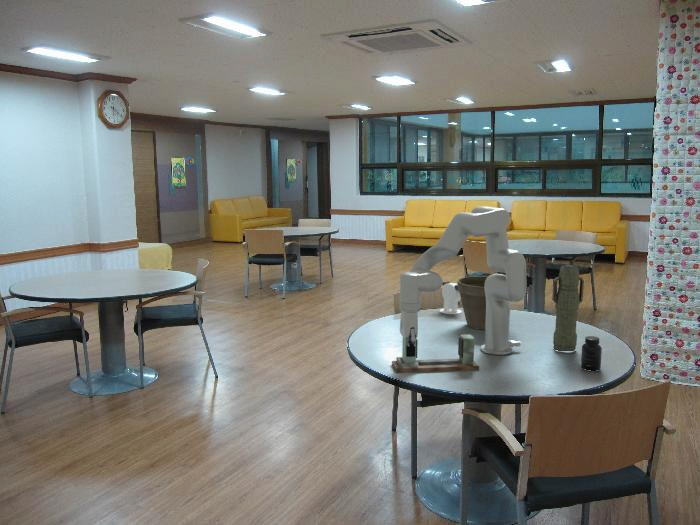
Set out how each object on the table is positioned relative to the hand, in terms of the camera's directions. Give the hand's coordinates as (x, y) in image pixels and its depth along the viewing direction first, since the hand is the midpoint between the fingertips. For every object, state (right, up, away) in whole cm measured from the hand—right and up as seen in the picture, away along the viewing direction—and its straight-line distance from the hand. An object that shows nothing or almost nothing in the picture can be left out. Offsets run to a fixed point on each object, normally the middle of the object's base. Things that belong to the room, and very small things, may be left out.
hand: (409, 353), depth 219 cm
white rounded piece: (+30, +8, +87) cm, 92 cm away
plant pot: (+41, +4, +59) cm, 72 cm away
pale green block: (0, -4, +1) cm, 4 cm away
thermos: (+66, -2, +23) cm, 70 cm away
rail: (+10, -5, +2) cm, 11 cm away
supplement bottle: (+67, -6, 0) cm, 68 cm away
